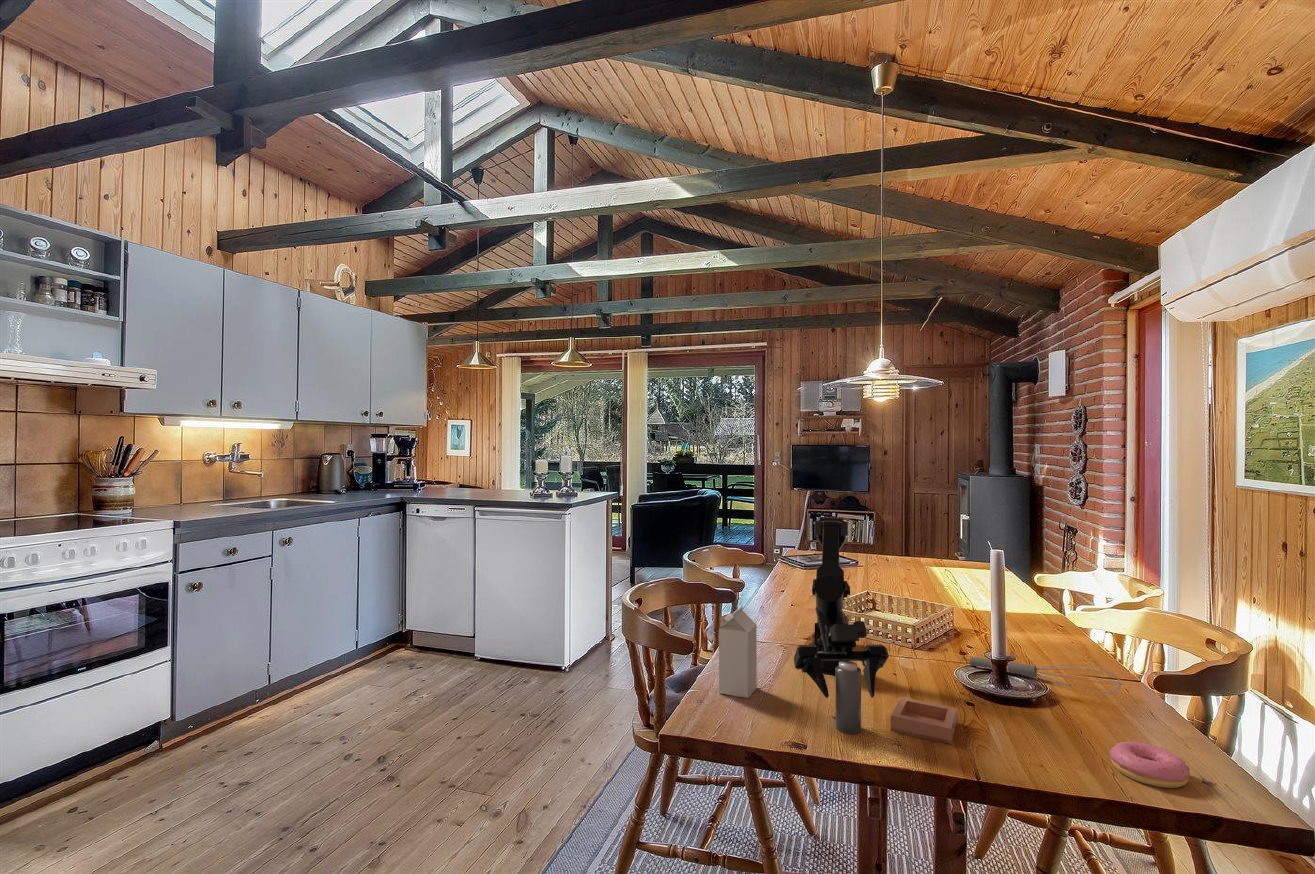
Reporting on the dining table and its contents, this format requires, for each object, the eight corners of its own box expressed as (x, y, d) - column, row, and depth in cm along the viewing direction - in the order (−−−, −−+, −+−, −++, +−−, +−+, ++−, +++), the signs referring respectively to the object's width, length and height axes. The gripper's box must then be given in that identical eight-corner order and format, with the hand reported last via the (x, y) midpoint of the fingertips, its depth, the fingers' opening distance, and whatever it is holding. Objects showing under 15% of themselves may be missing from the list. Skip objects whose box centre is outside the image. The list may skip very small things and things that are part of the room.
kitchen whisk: (965, 661, 163) (964, 638, 163) (1122, 695, 141) (1122, 668, 141) (958, 667, 159) (958, 643, 159) (1120, 704, 136) (1120, 675, 137)
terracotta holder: (890, 730, 122) (890, 715, 122) (900, 710, 132) (900, 696, 132) (951, 744, 116) (951, 728, 116) (957, 722, 126) (957, 708, 126)
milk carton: (756, 688, 144) (756, 607, 145) (748, 699, 138) (748, 614, 138) (728, 683, 147) (728, 604, 148) (718, 693, 141) (718, 611, 141)
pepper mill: (832, 730, 122) (832, 665, 123) (839, 720, 127) (839, 658, 127) (858, 736, 120) (857, 669, 120) (864, 726, 124) (863, 662, 124)
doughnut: (1130, 788, 102) (1130, 763, 102) (1097, 756, 112) (1097, 733, 112) (1206, 796, 99) (1206, 770, 99) (1165, 762, 110) (1164, 739, 110)
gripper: (797, 606, 128) (811, 679, 116) (885, 606, 128) (908, 678, 117) (788, 633, 135) (801, 703, 124) (871, 632, 136) (891, 703, 124)
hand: (850, 696), depth 122 cm, fingers open, 9 cm apart
